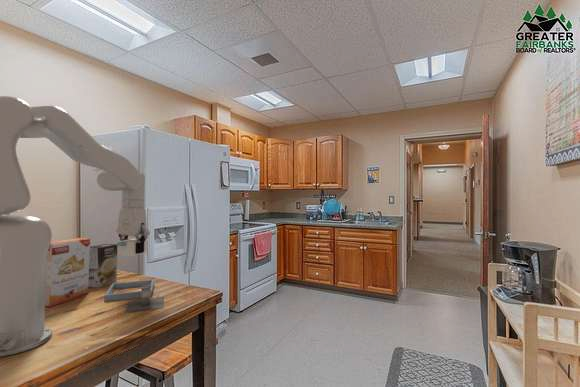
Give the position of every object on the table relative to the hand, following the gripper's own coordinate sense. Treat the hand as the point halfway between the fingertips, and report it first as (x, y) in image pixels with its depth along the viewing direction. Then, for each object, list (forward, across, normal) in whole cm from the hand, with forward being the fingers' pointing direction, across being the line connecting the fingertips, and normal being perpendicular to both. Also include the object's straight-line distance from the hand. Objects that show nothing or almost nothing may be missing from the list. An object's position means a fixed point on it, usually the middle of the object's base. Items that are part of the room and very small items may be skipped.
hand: (132, 251), depth 104 cm
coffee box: (+16, -23, +4) cm, 28 cm away
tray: (+16, 0, 0) cm, 16 cm away
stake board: (+16, +15, -7) cm, 23 cm away
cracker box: (+16, -17, -13) cm, 27 cm away
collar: (+1, 0, 0) cm, 1 cm away
